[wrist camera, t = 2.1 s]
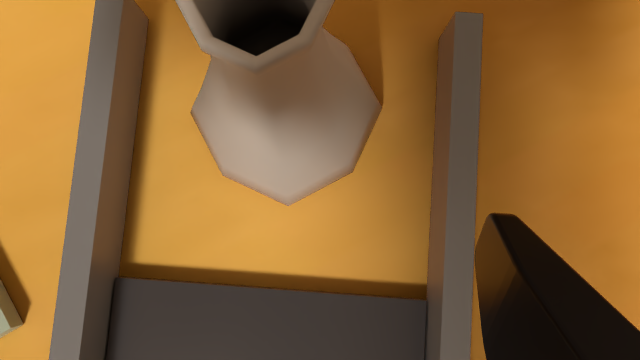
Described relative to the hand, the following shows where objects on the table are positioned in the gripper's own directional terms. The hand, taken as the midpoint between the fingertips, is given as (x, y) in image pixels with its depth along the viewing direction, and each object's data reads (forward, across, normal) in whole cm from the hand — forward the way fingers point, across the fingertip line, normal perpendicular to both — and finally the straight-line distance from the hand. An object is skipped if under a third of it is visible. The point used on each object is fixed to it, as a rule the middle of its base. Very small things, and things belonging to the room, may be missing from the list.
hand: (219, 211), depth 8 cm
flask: (+11, 0, +5) cm, 12 cm away
